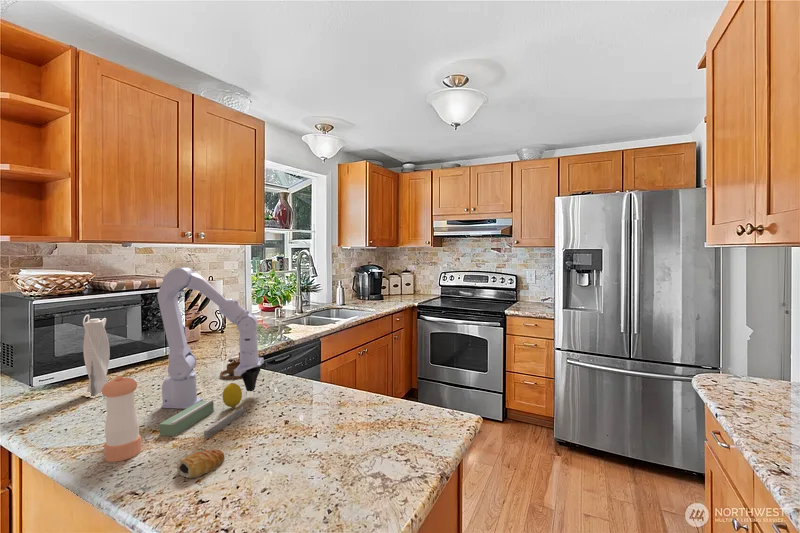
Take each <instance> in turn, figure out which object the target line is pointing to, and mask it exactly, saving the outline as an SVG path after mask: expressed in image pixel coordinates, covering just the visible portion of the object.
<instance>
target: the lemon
mask: <svg viewBox="0 0 800 533" xmlns="http://www.w3.org/2000/svg"><path fill="white" fill-rule="evenodd" d="M242 397H243V390H242V389H241V387H240V385H239V384H237V383H234V382H230V383H229V384H227V385H226V386H225V387H224V389H223V392H222V401H223V404H224V405H226V406H227V407H229V408H231V409H234V408H235V407H236V406H238V405H239V404H240V403H241V402H242Z"/></svg>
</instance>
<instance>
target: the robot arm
mask: <svg viewBox="0 0 800 533" xmlns="http://www.w3.org/2000/svg"><path fill="white" fill-rule="evenodd" d="M185 289H187V290H193V291H199V292H200V293H201V294H202V295H203V296H205V297H206V298H208V299H209V300H210V301H212V302H213V303H214V304H215V305H217V306H218V312H219V313H220V314H221V315H222V316H224V317H225V318H226V319H227V320H229V321H230V322H231V323H232V324H233V325H236V327H237V330H238V332H239V338H238V340H239V343H238V344H239V352H240V358H239V362H240V365H239V366H238V367H237V368H236V369H235V370H234V376H241V378H240V379H242V381H243V383H244V387H245V389H246V391H247V392H253V391H255V389H256V384H257V380H258V376H259V374H260V372H261V371H262V370H261V366H262V364H264V357H259V347H258V343H259V342H258V341H259V340H258V335H257V334H258V331H257V325H258V319H257V317H256V316H255V314H254V313H250V312H251V311H250V310H249V309H248V310H246V309H245V308H244V307H243V306H242V305H241V304H239V302H240V301H239V300H238V299H235V300H234V299H233V298H226V297H225V296H223V294H221V293H220V292H219V291H218V290H217V289H216V287H214V286H213V285H212V284H210V283H209V281H207V280H206V279H205V278H204V277H203V276H202V275H201V274H199V273H198V272H196V271H194V269H192V268H191V267H188V266H182V267H175V268H172V269H170V270H169V271H168V272H166V274H165V275H164V276H163V278H162V283H161V285H160V286H159V289H158V292H157V294H156V295H157V296H156V297H157V302H158V305H159V309H160V315H161V320H162V324H163V327H164V328H163V329H164V331H165V336H166V340H167V345H168V349H169V352H168V357H167V358H168V359H167V360H168V366H167V374H168V375H169V376H167V377H166V378H165V379H164V380H163V382H162V385H161V395H162V399H161V400H162V405H160V408H162V409H163V408H164V409H180V410H181V409H183V410H185V409H187V408H189V407H190V406H192V405H194V404H196V403H198V402H199V401H204V398H203V397H198V394H197V391H198V390H197V373H196V372H195V370H194V368H196V366H197V363H198V362H197V357H196V356H195V355H194V354H193V352H192V349H191V347H190V346H189V345H188V341H187V336H186V333H185V328H184V324H183V319H182V315H181V311H180V306H179V303H178V297H179V296H180V294H181V293H182V292H184V290H185Z"/></svg>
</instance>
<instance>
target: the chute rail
mask: <svg viewBox="0 0 800 533" xmlns="http://www.w3.org/2000/svg"><path fill="white" fill-rule="evenodd" d="M242 414H244V406H242V405H241V406H238V407H237V408H235V409H234V410H232V411H231V412H229V413H228V414H226V415H225V416H224V417H222V418H220V419H219V420H217V421H216V422H215V423H213V424H212V425H210V426H209V427H207V428H206V429H203V438H204V439H209V438H211V437H212V436H213V435H215V434H217V432H219V431H221V430H222V429H223V428H224V427H226V426H227V425H229V424H230V423H231V422H233V421H234V420H236V419H237V418H238V417H241V415H242Z"/></svg>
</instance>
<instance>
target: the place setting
mask: <svg viewBox="0 0 800 533" xmlns="http://www.w3.org/2000/svg"><path fill="white" fill-rule="evenodd" d="M238 358H239V359H240V351H239V352H238ZM239 365H240V361H234V362H230V363H227V364H226V369H225V370H223V371H221V372H220V373H219V376H220V378H221V379H224V380H238V379H242V378H241V376H234V370H235V369H236V368H237V367H238V366H239ZM226 374H228V375H230V376H227V375H226Z"/></svg>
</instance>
